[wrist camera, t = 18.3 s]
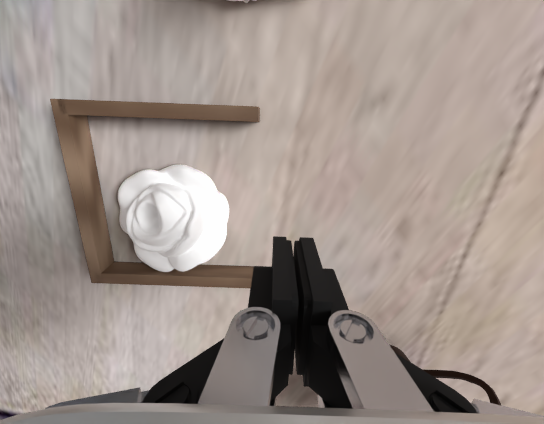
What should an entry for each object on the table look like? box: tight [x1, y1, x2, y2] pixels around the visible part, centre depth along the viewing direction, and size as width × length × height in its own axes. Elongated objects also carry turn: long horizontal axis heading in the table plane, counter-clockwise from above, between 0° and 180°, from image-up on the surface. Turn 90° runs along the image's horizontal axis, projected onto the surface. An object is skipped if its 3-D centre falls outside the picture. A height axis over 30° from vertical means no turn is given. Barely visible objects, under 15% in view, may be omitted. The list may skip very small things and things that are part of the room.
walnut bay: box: [50, 99, 260, 288], centre depth 21 cm, size 15×14×2 cm
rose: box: [118, 164, 229, 272], centre depth 21 cm, size 10×4×10 cm
